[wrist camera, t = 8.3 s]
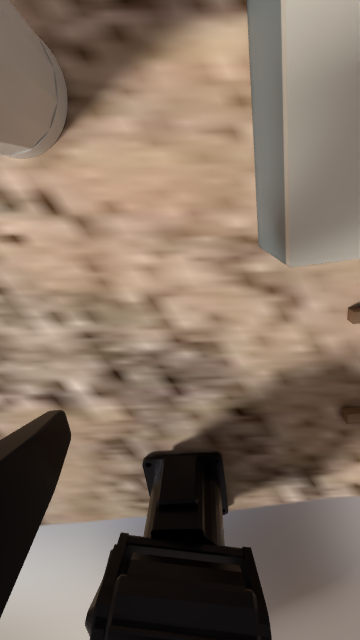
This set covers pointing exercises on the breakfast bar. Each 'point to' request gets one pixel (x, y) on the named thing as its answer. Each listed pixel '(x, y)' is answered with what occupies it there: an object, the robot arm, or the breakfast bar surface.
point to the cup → (28, 89)
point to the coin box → (306, 128)
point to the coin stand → (352, 413)
